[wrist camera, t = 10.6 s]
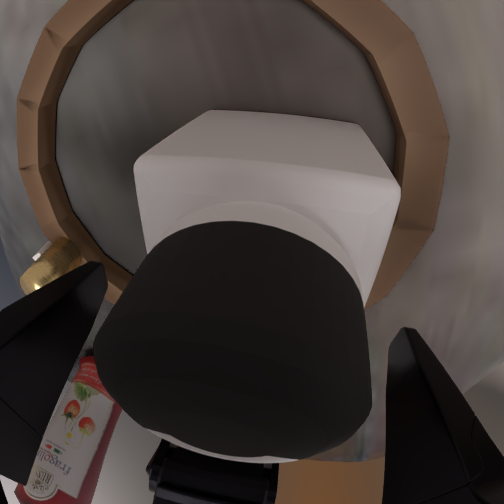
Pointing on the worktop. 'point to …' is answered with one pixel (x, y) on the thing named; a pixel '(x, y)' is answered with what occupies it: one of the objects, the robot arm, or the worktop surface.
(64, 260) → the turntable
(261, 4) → the worktop surface
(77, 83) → the worktop surface
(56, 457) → the liquor
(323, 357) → the medicine bottle
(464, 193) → the worktop surface
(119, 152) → the worktop surface
